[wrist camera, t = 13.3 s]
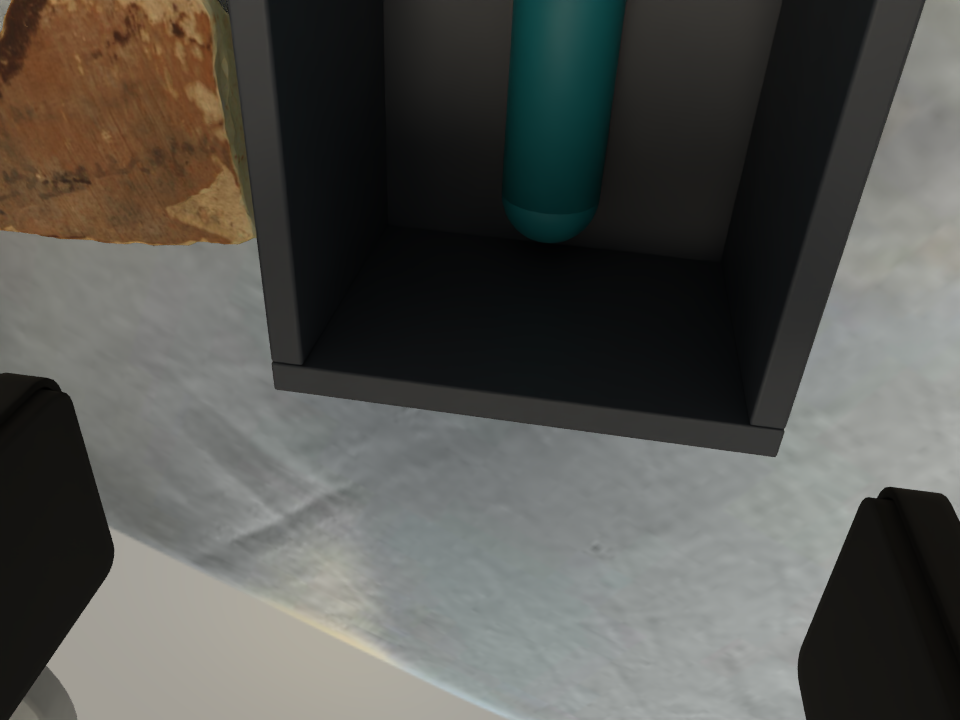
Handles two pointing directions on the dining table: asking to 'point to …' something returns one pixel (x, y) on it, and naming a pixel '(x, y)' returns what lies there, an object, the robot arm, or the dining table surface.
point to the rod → (559, 113)
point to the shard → (122, 123)
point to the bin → (593, 252)
